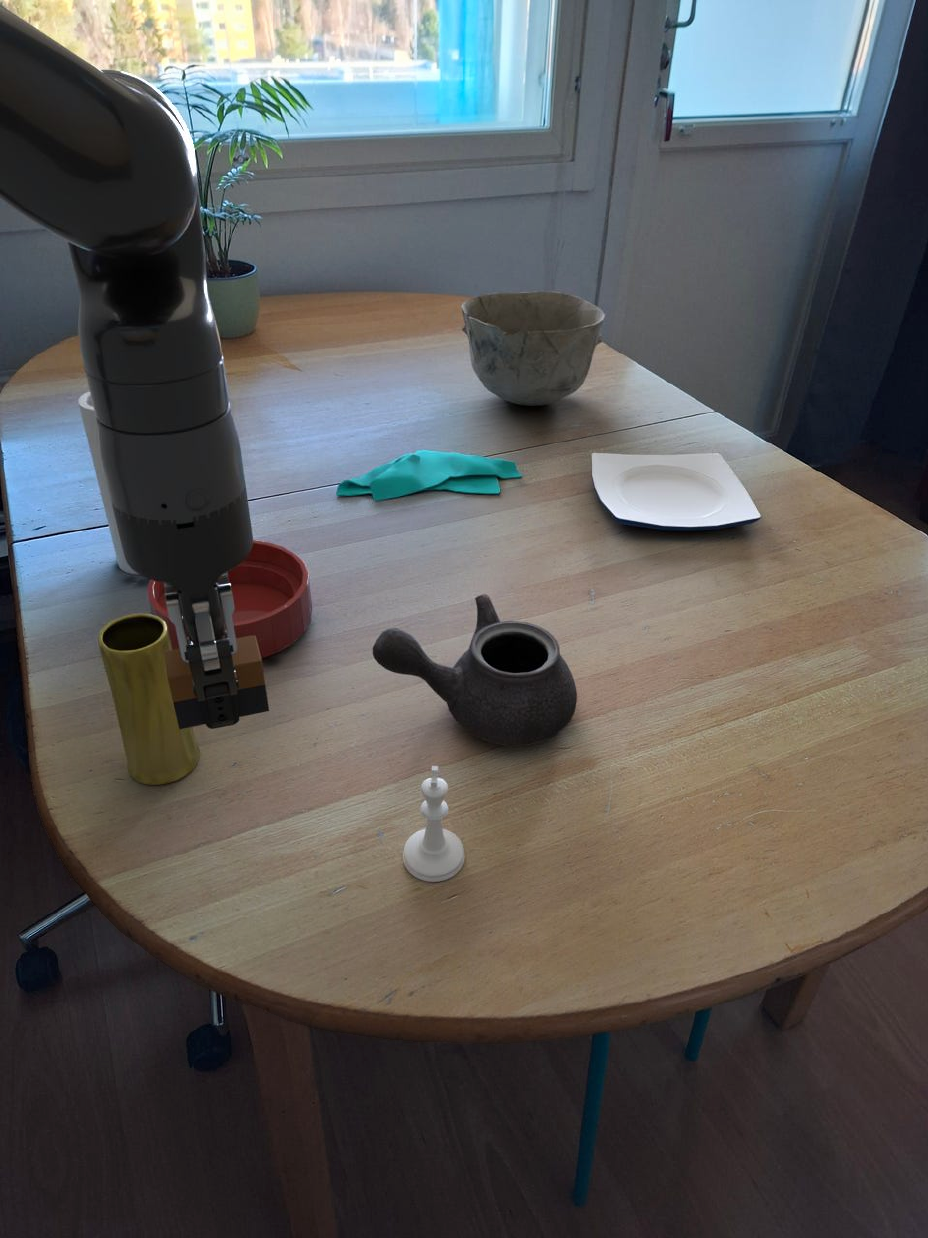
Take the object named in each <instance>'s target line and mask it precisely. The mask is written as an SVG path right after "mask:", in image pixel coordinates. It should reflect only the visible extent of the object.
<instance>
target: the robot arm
mask: <svg viewBox="0 0 928 1238" xmlns="http://www.w3.org/2000/svg"><path fill="white" fill-rule="evenodd" d="M194 147H195V146H194V144H193V140H192V137H191V135H190V132H189V129H188V128H187V125H186V123H185V121H184V120H183V118H182V116H181V115H180V113H179V111H178V110H177V108H176V107H175V106H174V104H172V102H171V101H170V100H169V99H168V98H167V97H166V95H164V93H162V92H161V91H160V90H159V89H158V88H156V87H155V86H153V85H152V84H151V83H149V82H147V81H146V80H144V79H142V78H140V77H138V76H137V75H133V74H131V73H128V72H125V71H121V70H115V69H99V68H97V67H96V66H95V65H92V64H91V63H90V62H88V61H86V60H85V59H83V58H82V57H80V56H78V55H77V54H76V53H75V52H73V51H71V50H70V49H68V48H66V47H65V46H63V45H62V44H61V43H59V42H57V41H56V40H54V38H51V37H50V36H49V35H47V34H45V32H42V31H41V30H39V29H38V28H36V27H35V26H33V25H32V24H30V23H29V22H27V21H26V20H24V19H23V18H21V17H20V16H18V15H16V14H15V13H13V12H12V11H11V10H9V9H7V7H5V6H3V5H2V4H1V3H0V200H1V201H3V202H4V203H6V204H7V205H8V206H9V207H11V208H12V209H14V210H15V211H17V212H18V213H20V214H22V215H23V216H24V217H25V218H27V219H29V220H30V221H32V222H33V223H35V224H36V225H38V226H39V227H41V228H43V229H44V230H46V231H48V232H49V233H51V234H53V235H55V236H57V237H58V238H60V239H62V240H64V241H66V242H67V246H68V250H69V255H70V259H71V263H72V268H73V272H74V275H75V280H76V284H77V289H78V290H77V291H78V297H79V306H78V318H77V331H78V332H77V335H78V344H79V350H80V355H81V360H82V365H83V369H84V373H85V378H86V382H87V385H88V391H90V395H91V399H92V403H93V407H94V411H95V415H96V420H97V426H98V436H99V448H100V456H101V461H102V466H103V470H104V474H105V478H106V482H107V486H108V490H109V494H110V499H111V503H112V507H113V511H114V515H115V519H116V524H117V528H118V532H119V536H120V540H121V544H122V548H123V552H124V556H125V559H126V561H127V563H128V565H129V566H130V567H131V568H132V569H133V570H134V571H135V572H136V573H138V574H140V575H139V576H142V577H144V578H146V579H148V580H150V579H151V580H155V581H161V582H164V587H165V591H166V594H165V600H166V606H167V610H168V615H169V619H170V621H171V622H172V623H174V625H175V628H176V633H177V637H178V642H179V647H180V652H181V657H182V659H183V661H185V662H187V663H189V666H190V670H191V674H192V680H193V685H194V686H195V688H194V689H193V690H194V696H197V699H198V702H199V701H201V703H202V708H203V713H204V717H205V722H206V724H205V726H206V728H208V729H210V730H214V729H220V728H224V727H230V726H234V725H237V724H238V723H239V722H240V718H241V717H239V712H238V706H237V701H236V695H235V694H238V693H237V688H239V684H238V680H236V679H235V678H237V677H236V671H234V666H233V660H232V655H233V654H235V653H236V651H237V642H236V636H235V631H234V625H233V619H232V614H233V612H234V610H235V606H234V600H233V594H232V589H231V584H230V583H229V578H228V571H229V570H232V569H234V568H235V567H237V566H238V565H239V564H240V563H242V562H243V561H244V560H245V558H246V557H247V556H248V554H249V553H250V551H251V548H252V545H253V540H254V535H253V528H252V521H251V513H250V507H249V500H248V491H247V485H246V480H245V479H246V476H245V471H244V464H243V463H244V462H243V455H242V448H241V443H240V436H239V433H238V430H237V426H236V424H235V420H234V416H233V413H232V408H231V403H230V394H229V387H228V381H227V374H226V366H225V359H224V353H223V348H222V343H221V337H220V333H219V329H218V325H217V321H216V318H215V313H214V310H213V306H212V302H211V299H210V294H209V287H208V273H207V262H206V250H205V241H204V230H203V220H202V211H201V201H200V190H199V180H198V170H197V159H196V153H195V148H194ZM138 574H137V575H138ZM224 624H225V628H224ZM225 629H226V630H225ZM185 630H186V631H187V634H188V637H187V636H186V631H185Z"/></svg>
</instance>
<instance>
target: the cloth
mask: <svg viewBox="0 0 928 1238" xmlns="http://www.w3.org/2000/svg"><path fill="white" fill-rule="evenodd" d="M522 476H523V475H522V473H521V471H519V470H518V467H517V464H516V461H512V460H508V459H503V458H489V457H486V456H482V455H479V454H475V455H474V454H463V453H460V452H459V453H458V452H455V451H454V452H443V451H436V450H428V449H427V450H426V449H418V450H417V451H415V453H405V454H404V455H401V456H400V457H398V458H396V459H394V460H392V461H390V462H386V463H384V464H381V465H378V466H376V467H375V468H372V469H371V470H370V471H368V472H366V473H365V474H364V475H362V476H360V477H353V478H350V479H345V480H343V481H341V482H340V483H339V484H338V485H337V489H336V492H335V495H336V496H337V497H353V496H360V495H372V498H373V500H374V502H380V501H384V500H391V499H396V498H401V497H404V496H408V495H411V494H415V493H418V492H421V491H444V490H446V491H450V492H454V493H465V494H476V495H477V494H479V495H500V494H501V489H500V484H499V480H498V478H501V479H502V480H507V479H517V478H522Z"/></svg>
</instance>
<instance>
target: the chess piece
mask: <svg viewBox="0 0 928 1238" xmlns="http://www.w3.org/2000/svg"><path fill="white" fill-rule="evenodd" d="M430 771H431V775H430V776H431V777H429V778H427V779H425V780H423V782H422V783H421V786H420V791H421V794H422V796H423V798H424V801H423V802H422V803H421V805H420V807H419V811H420V814H421V816H422V817H423V818H424V819H426V823H425V828H422V829H419V830H418V831H415V832H414V833H413V834H411V836H409V837H408V838H407V840H406V842H405V845H404V847H403V852H402V861H403V865H404V868H405V869H406V870H407V871H408V873H409V874H410V875H412V876H413V877H415V878H416V879H419V880H421V881H424V882H431V883H438V882H443V881H446V880H449V879H451V878H453V877H455V876H456V875H457V874H458V872H460V871H461V869H462V868H463V866H464V864H465V860H466V859H465V858H466V854H465V848H464V845H463V842H462V841H461V838H460V837H459V836H458V835H456V834H455V833H454V832H452V831H450V830H449V829H446V828H444V827H443V823H442V822H443V821H442V820H443V819H444V818H445V817H447V815H448V814H449V806H448V803H447V802H446V801H445V800H444V799H445V797H446V796H447V793H448V792H449V785H448V783H447V782H446V780H445V779H443V778H441V777H438V776H439V766H438V765H431V770H430Z"/></svg>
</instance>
